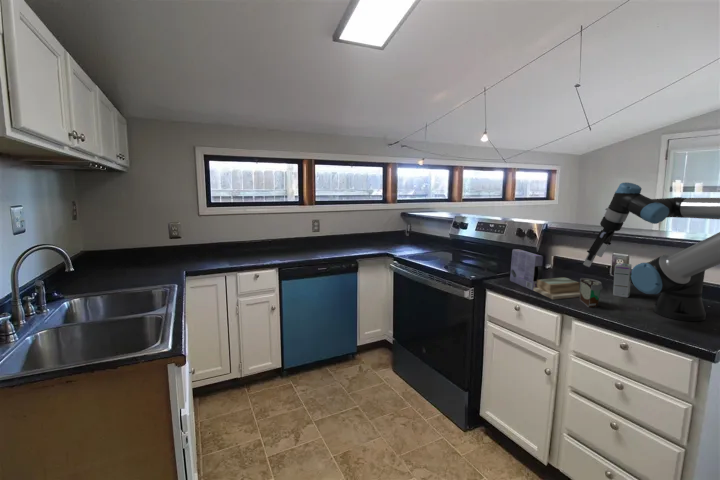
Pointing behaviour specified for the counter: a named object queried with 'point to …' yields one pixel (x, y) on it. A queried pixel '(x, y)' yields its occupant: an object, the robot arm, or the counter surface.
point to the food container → (590, 291)
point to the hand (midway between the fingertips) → (592, 260)
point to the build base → (558, 295)
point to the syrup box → (622, 280)
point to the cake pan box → (526, 268)
